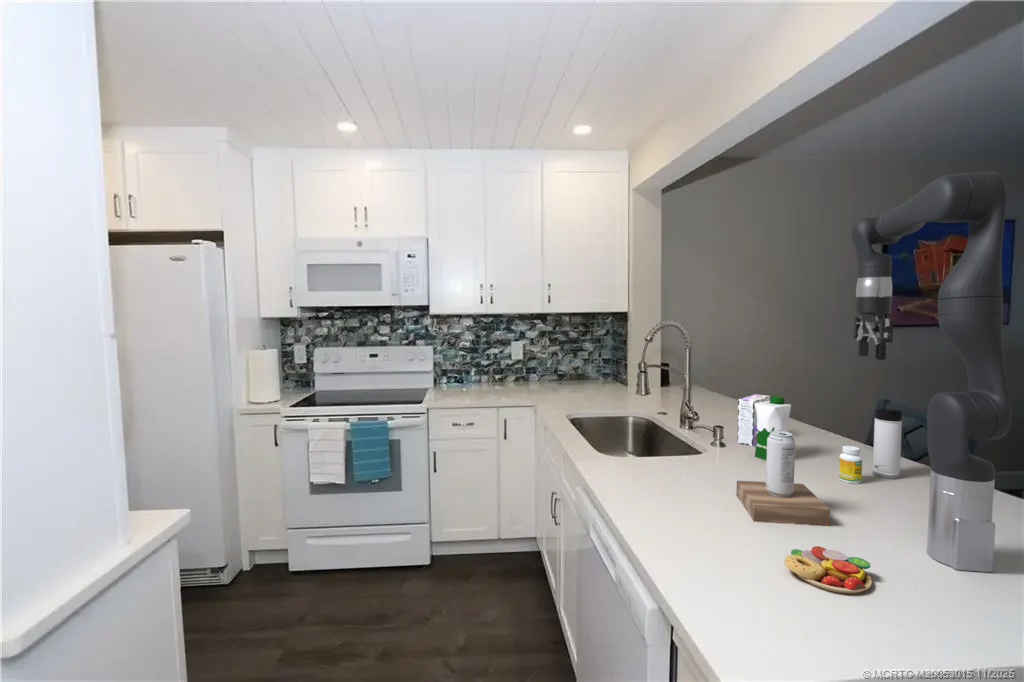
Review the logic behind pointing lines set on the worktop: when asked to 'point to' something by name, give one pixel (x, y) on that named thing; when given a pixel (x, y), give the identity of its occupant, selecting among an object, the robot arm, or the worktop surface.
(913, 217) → the robot arm
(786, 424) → the milk carton
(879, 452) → the travel mug
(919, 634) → the worktop surface
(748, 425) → the candy box
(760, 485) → the walnut base
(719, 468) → the worktop surface
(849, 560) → the toy food set
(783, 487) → the energy drink can
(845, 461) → the supplement bottle
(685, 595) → the worktop surface
